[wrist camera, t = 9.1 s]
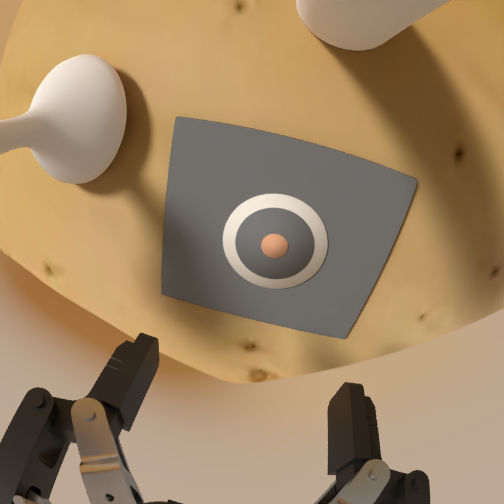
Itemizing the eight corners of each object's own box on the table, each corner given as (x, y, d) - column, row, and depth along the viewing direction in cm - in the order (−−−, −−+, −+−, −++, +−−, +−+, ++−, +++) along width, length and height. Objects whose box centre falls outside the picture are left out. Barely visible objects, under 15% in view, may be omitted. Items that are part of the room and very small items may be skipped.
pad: (415, 178, 18) (420, 181, 17) (343, 334, 26) (344, 342, 25) (178, 116, 18) (173, 117, 17) (163, 290, 26) (159, 296, 25)
